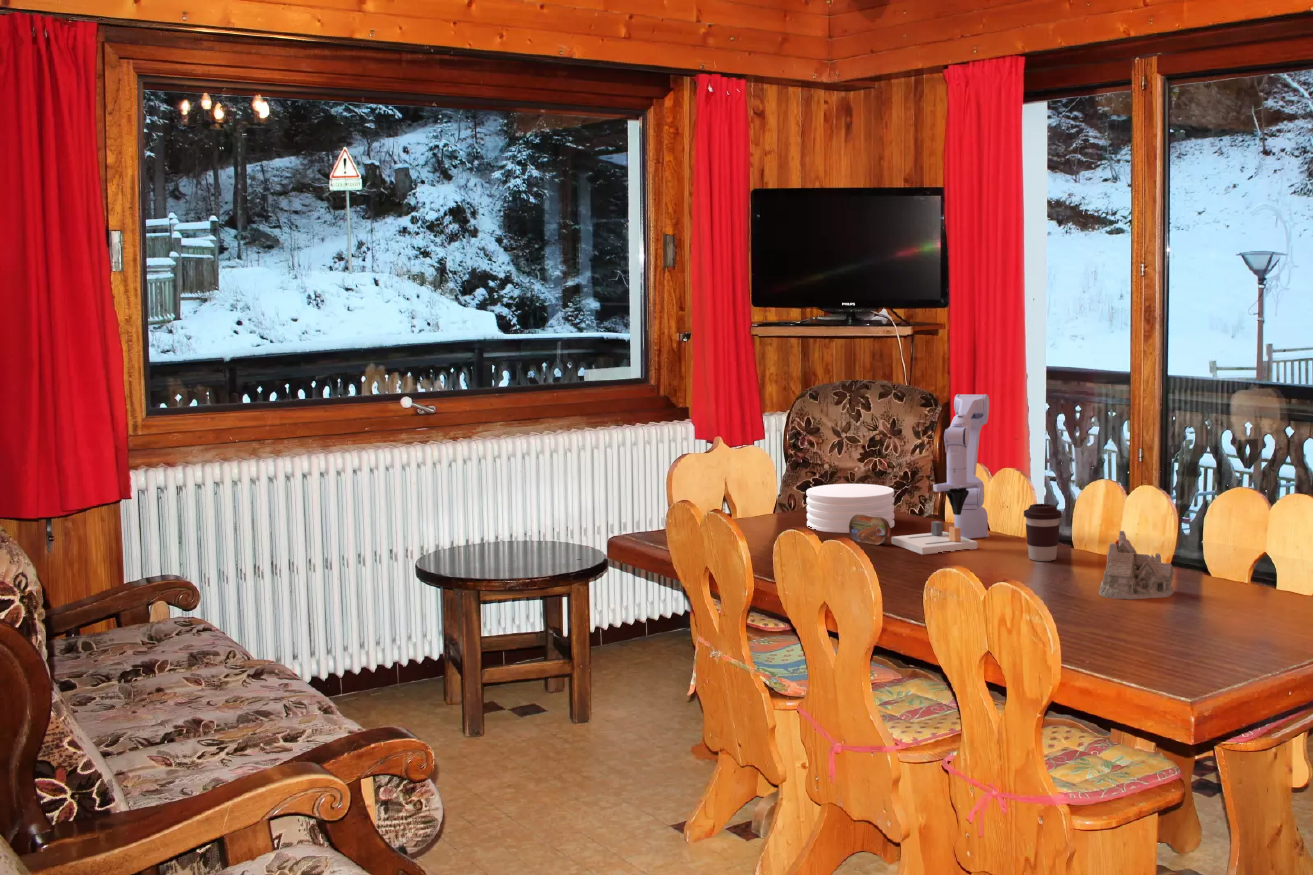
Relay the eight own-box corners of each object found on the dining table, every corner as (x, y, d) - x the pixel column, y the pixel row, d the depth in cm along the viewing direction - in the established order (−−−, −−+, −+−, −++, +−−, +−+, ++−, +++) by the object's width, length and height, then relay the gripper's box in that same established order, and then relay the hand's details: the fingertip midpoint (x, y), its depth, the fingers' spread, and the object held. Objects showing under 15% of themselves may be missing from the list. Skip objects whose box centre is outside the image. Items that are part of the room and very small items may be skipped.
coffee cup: (1063, 563, 346) (1063, 508, 344) (1025, 562, 348) (1025, 508, 346) (1059, 555, 356) (1059, 502, 354) (1022, 555, 358) (1022, 502, 356)
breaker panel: (944, 538, 385) (944, 531, 385) (977, 548, 368) (977, 541, 368) (891, 543, 380) (891, 536, 380) (922, 554, 363) (922, 547, 363)
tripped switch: (955, 539, 372) (955, 526, 372) (960, 541, 369) (960, 528, 369) (949, 540, 372) (949, 526, 371) (954, 541, 369) (954, 528, 368)
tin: (848, 540, 387) (848, 513, 386) (855, 538, 389) (855, 511, 388) (885, 547, 375) (884, 519, 374) (892, 545, 377) (892, 517, 376)
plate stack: (799, 532, 403) (799, 496, 402) (815, 516, 430) (814, 483, 429) (889, 534, 395) (888, 497, 394) (898, 518, 422) (898, 484, 420)
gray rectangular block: (937, 533, 382) (937, 520, 381) (942, 535, 379) (942, 522, 378) (931, 534, 381) (931, 521, 381) (936, 535, 378) (936, 523, 378)
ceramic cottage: (1089, 594, 310) (1095, 534, 308) (1118, 584, 322) (1123, 526, 320) (1153, 608, 300) (1159, 545, 298) (1180, 597, 311) (1186, 537, 309)
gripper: (942, 471, 365) (942, 518, 366) (986, 468, 369) (986, 514, 371) (929, 468, 371) (929, 514, 373) (972, 465, 376) (973, 510, 377)
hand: (957, 514), depth 372 cm, fingers closed
